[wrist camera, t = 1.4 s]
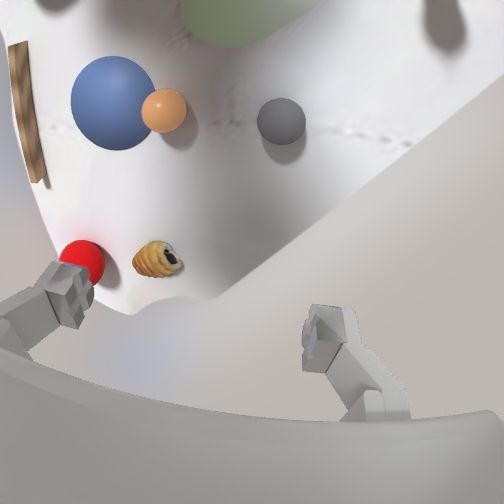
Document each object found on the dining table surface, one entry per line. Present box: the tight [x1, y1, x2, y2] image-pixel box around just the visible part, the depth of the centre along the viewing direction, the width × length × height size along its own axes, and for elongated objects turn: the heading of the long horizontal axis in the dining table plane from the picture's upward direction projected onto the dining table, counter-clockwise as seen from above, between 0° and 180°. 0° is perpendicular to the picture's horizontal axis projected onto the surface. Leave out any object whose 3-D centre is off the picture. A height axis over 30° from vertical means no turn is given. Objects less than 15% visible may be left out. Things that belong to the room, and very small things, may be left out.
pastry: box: [132, 241, 182, 278], centre depth 54 cm, size 9×7×4 cm
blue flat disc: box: [71, 56, 155, 150], centre depth 36 cm, size 14×14×1 cm
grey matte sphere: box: [257, 98, 306, 145], centre depth 34 cm, size 6×6×6 cm
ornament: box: [59, 240, 105, 286], centre depth 52 cm, size 9×9×10 cm
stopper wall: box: [8, 41, 47, 183], centre depth 36 cm, size 24×2×3 cm, turn 174°
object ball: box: [141, 89, 187, 133], centre depth 34 cm, size 6×6×6 cm
